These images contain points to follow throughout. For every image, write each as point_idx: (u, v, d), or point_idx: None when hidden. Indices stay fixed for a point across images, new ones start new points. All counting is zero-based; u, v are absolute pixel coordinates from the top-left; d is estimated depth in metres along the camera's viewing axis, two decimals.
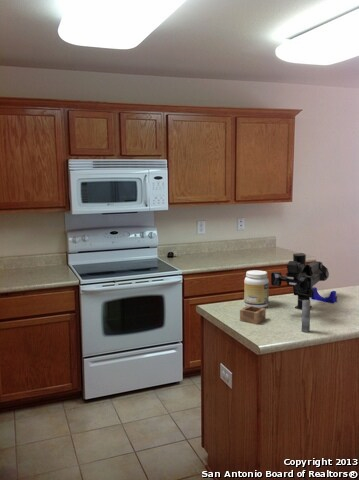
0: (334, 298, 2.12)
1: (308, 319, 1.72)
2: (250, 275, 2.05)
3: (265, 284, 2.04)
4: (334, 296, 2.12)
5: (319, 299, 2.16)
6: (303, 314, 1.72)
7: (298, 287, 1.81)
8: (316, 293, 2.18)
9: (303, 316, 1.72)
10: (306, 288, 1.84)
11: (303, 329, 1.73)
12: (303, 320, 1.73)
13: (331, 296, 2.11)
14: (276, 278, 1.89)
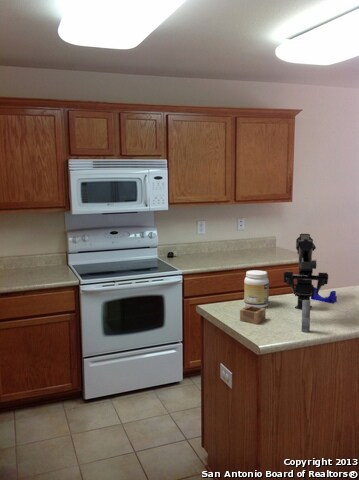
0: (334, 298, 2.12)
1: (308, 319, 1.72)
2: (250, 275, 2.05)
3: (265, 284, 2.04)
4: (334, 296, 2.12)
5: (319, 299, 2.16)
6: (303, 314, 1.72)
7: (318, 290, 1.80)
8: None
9: (303, 316, 1.72)
10: (323, 284, 1.83)
11: (303, 329, 1.73)
12: (303, 320, 1.73)
13: (331, 296, 2.11)
14: (292, 282, 1.82)
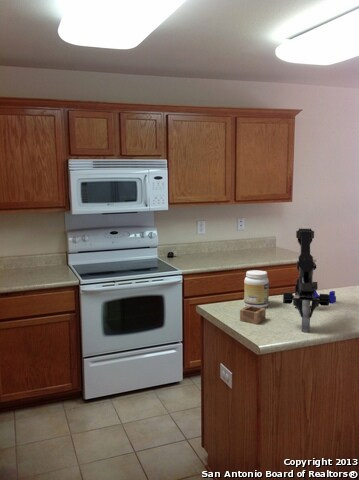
0: (333, 298, 2.12)
1: (308, 319, 1.72)
2: (250, 275, 2.05)
3: (265, 284, 2.04)
4: (333, 296, 2.12)
5: None
6: (303, 314, 1.72)
7: (312, 312, 1.73)
8: (315, 293, 2.18)
9: (303, 316, 1.72)
10: (317, 305, 1.76)
11: (303, 329, 1.73)
12: (303, 320, 1.73)
13: (330, 296, 2.11)
14: (299, 305, 1.74)
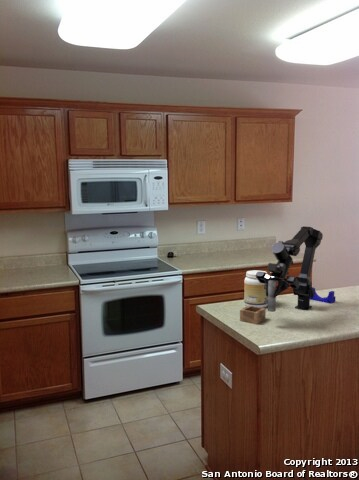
0: (333, 298, 2.12)
1: (272, 299, 1.78)
2: (250, 275, 2.05)
3: (265, 284, 2.04)
4: (333, 296, 2.12)
5: (317, 299, 2.16)
6: (268, 293, 1.79)
7: (278, 293, 1.78)
8: (314, 293, 2.18)
9: (268, 295, 1.79)
10: (287, 287, 1.79)
11: (268, 308, 1.79)
12: (268, 299, 1.79)
13: (329, 296, 2.11)
14: (267, 284, 1.81)
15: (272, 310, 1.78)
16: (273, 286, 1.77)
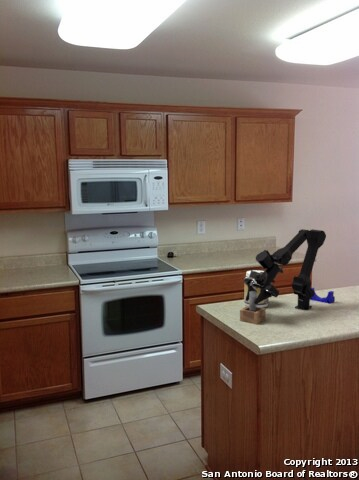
0: (332, 299, 2.12)
1: (252, 309, 1.87)
2: None
3: None
4: (332, 296, 2.12)
5: (317, 299, 2.16)
6: (249, 303, 1.88)
7: (260, 300, 1.85)
8: None
9: (249, 305, 1.88)
10: (269, 296, 1.84)
11: None
12: (249, 309, 1.89)
13: (329, 296, 2.11)
14: (248, 290, 1.91)
15: None
16: (253, 297, 1.86)
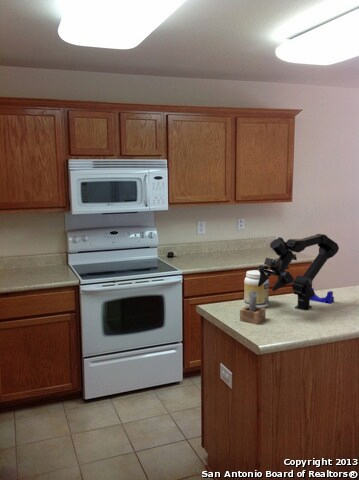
0: (331, 299, 2.12)
1: (252, 309, 1.87)
2: (250, 275, 2.05)
3: (265, 284, 2.04)
4: (331, 297, 2.12)
5: (316, 299, 2.15)
6: (249, 303, 1.88)
7: (277, 287, 1.87)
8: None
9: (249, 305, 1.88)
10: (287, 283, 1.87)
11: None
12: (249, 309, 1.89)
13: (328, 296, 2.11)
14: (260, 276, 1.96)
15: None
16: (252, 297, 1.86)
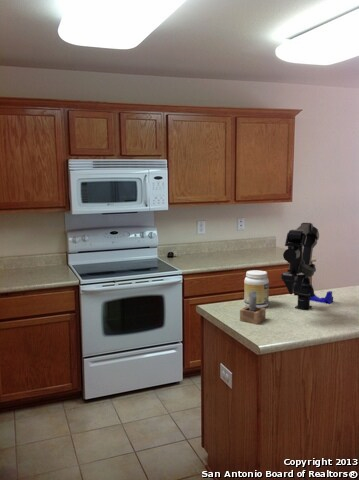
0: (331, 299, 2.12)
1: (252, 309, 1.87)
2: (250, 275, 2.05)
3: (265, 284, 2.04)
4: (331, 297, 2.11)
5: (315, 300, 2.15)
6: (249, 303, 1.88)
7: None
8: None
9: (249, 305, 1.88)
10: None
11: None
12: (249, 309, 1.89)
13: (327, 296, 2.11)
14: (293, 285, 1.84)
15: None
16: (252, 297, 1.86)
